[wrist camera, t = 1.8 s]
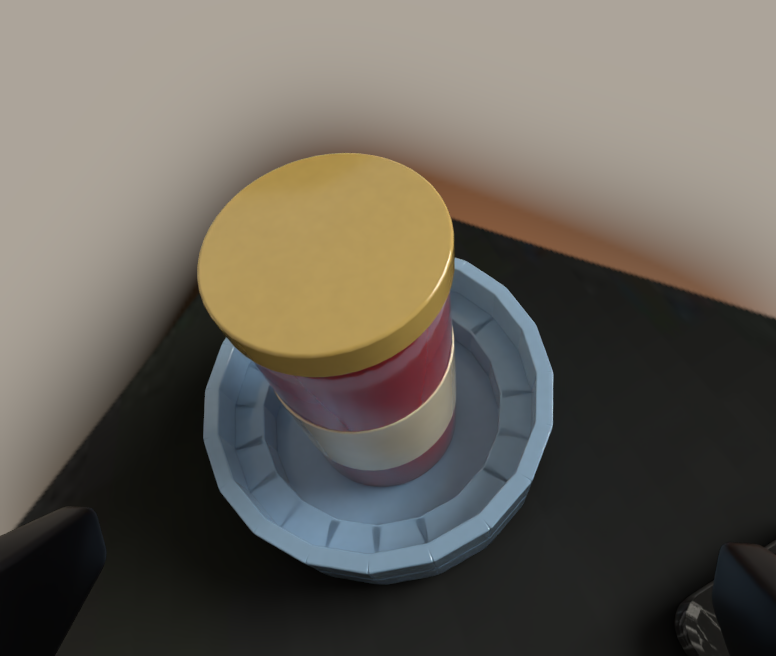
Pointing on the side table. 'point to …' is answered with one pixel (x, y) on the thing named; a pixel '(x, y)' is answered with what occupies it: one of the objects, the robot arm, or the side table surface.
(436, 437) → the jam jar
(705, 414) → the side table surface
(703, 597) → the phone
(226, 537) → the side table surface
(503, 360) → the bowl
